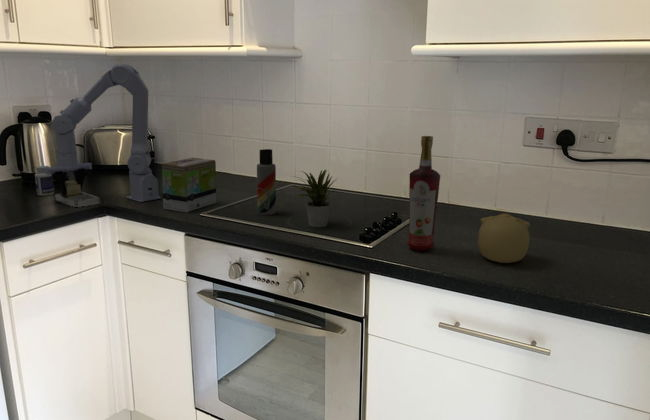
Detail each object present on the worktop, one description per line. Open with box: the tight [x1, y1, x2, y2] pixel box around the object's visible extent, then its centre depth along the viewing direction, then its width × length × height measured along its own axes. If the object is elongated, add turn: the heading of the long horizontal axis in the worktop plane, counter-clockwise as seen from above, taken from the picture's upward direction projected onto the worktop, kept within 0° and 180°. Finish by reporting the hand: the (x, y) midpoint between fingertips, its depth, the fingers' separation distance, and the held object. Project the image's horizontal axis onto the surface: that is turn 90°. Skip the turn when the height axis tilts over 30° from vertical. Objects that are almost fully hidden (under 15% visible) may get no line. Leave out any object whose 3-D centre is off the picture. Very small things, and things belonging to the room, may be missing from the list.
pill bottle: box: [34, 165, 55, 197], centre depth 183 cm, size 5×5×10 cm
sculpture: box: [477, 213, 531, 264], centre depth 124 cm, size 11×12×11 cm
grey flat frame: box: [54, 191, 101, 208], centre depth 174 cm, size 15×8×2 cm, turn 49°
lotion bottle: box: [256, 148, 277, 216], centre depth 161 cm, size 6×6×20 cm
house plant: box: [291, 169, 338, 228], centre depth 151 cm, size 14×14×16 cm
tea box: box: [161, 157, 217, 213], centre depth 169 cm, size 15×10×15 cm, turn 155°
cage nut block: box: [62, 179, 81, 197], centre depth 176 cm, size 4×4×6 cm
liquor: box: [406, 135, 441, 253], centre depth 128 cm, size 7×7×28 cm
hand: (71, 192), depth 176 cm, fingers closed on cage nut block, 4 cm apart
